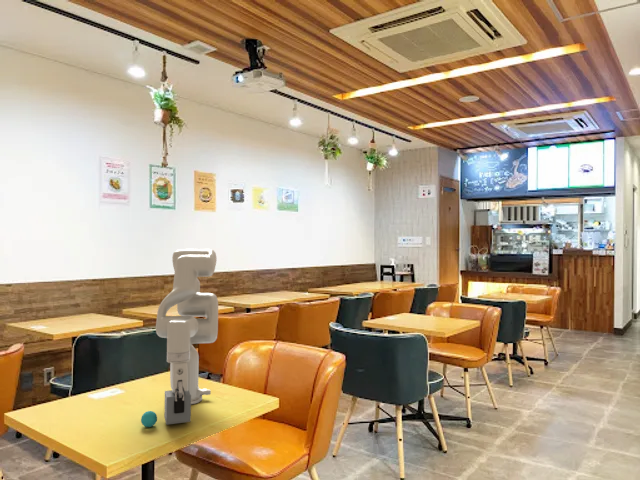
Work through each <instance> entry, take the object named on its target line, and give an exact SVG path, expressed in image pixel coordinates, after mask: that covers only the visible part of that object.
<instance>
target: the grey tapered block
mask: <svg viewBox="0 0 640 480" xmlns="http://www.w3.org/2000/svg"><path fill="white" fill-rule="evenodd" d="M176 391H178V390H176ZM177 395H178V394H177ZM174 401H175V393H173V391H172V389H171V390H164V421H165V424H166V425H174V424H181V423H190V422H191V421H192V420H191V419H192V418H191V416H192V413H191V412H192V405H191V394H190V392H189V390H188V391H187V392H186V391H184V413H176V414H175V413H174Z"/></svg>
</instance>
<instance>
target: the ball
mask: <svg viewBox="0 0 640 480" xmlns="http://www.w3.org/2000/svg"><path fill="white" fill-rule="evenodd" d="M140 420H141V421H140V422H141V424H142V425H143V426H144V427H146V428H150V427H154V426H155V425H156V423H157V421H158V416H157V413H156V412H155V411H153V410H148V411H145V412H143V414H142V415H141V418H140Z"/></svg>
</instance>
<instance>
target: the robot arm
mask: <svg viewBox="0 0 640 480" xmlns="http://www.w3.org/2000/svg"><path fill="white" fill-rule="evenodd" d="M171 261H172V266H173V270H174V274H173V275H174V277H173V282H172V283H173V285H172V290H171V291H170V292H169V293H167V295H166V296H165V297H164V298H163V300H162V301H161V302H160V304H159V306H158V309H157V313H156V314H157V315H156V321H155V334H156V335H157V336H158V337H159V338H162V339H163V338H164V339H166V362H167V363H168V364H170V366H169V367H170V369H169V370H170V371H169V372H170V373H169V374H170V375H169V376H170V377H169V380H170V388H171V390H172V391H173V393H175V401H174V413H175V414H176V413H184V391H186V392H187V391H188V390H189V392H190V394H191V406H192V405H196V404H199V403H200V402H201V401H202V400H203V396H210V395H211V393H212V392H211V389H207V388H200V387H199V364H200V363H199V359H200V356H199V352H198V350H197V349H196V348H195V347H194V345H195V344H213V343H215V342H216V341H217V339H218V332H219V300H218V297H217V295H216V293H213V292H212V293H211V292H201V282H200V280H199V279H198V278H199V277H200V278H201V277H203V278H205V277H212V276H213V275H214V273H215V270H216V266H217V265H216V264H217V253H216V251H215V250H214V249H210V248H199V249H198V248H185V249H183V248H182V249H177V250H175V251H174V252H173V254H172V260H171ZM174 306H176V308H177V309H176V311H177V314H178V315H168V316H167V313H168V311H169V310H170V309H172V308H173V307H174ZM197 317H198V318H197ZM200 317H202V318H200ZM176 390H178V391H176ZM177 394H178V395H177Z"/></svg>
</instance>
